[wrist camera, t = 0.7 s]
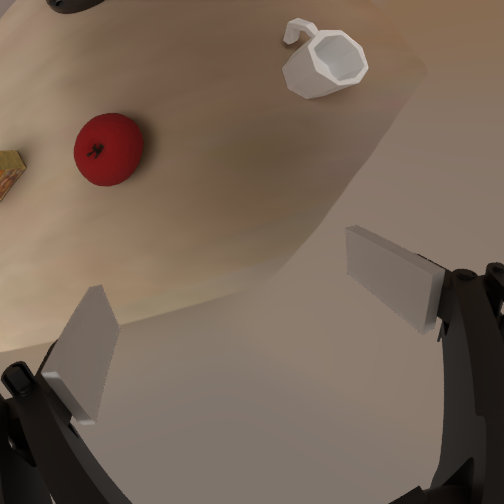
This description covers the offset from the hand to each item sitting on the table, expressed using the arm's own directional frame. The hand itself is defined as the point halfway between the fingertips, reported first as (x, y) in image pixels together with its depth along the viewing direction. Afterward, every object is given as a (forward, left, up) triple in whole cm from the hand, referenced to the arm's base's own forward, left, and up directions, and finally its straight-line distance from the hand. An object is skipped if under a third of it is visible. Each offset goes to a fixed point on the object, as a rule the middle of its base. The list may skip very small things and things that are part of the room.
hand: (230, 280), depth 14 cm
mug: (-16, +20, -27) cm, 37 cm away
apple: (-11, -9, -27) cm, 31 cm away
